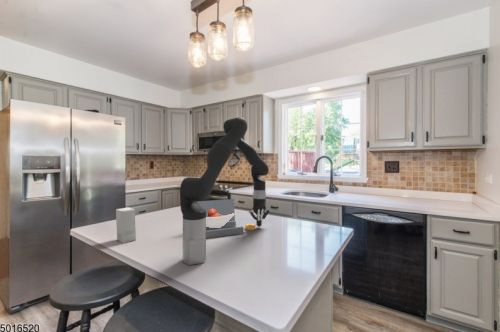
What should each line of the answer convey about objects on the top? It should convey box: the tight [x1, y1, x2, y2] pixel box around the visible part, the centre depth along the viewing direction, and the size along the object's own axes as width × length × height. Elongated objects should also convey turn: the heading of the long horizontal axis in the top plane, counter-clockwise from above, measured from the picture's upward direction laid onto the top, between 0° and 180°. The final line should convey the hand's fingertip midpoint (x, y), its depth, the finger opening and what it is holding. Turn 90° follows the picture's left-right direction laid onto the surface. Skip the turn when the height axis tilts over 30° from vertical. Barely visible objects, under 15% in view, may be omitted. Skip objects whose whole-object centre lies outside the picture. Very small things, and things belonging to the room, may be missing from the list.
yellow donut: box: [244, 223, 256, 231], centre depth 138 cm, size 6×6×2 cm
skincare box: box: [115, 206, 137, 244], centre depth 117 cm, size 8×7×16 cm
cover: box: [197, 198, 236, 222], centre depth 138 cm, size 13×24×1 cm
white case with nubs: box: [206, 220, 244, 239], centre depth 131 cm, size 13×24×4 cm, turn 114°
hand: (259, 226), depth 141 cm, fingers closed
